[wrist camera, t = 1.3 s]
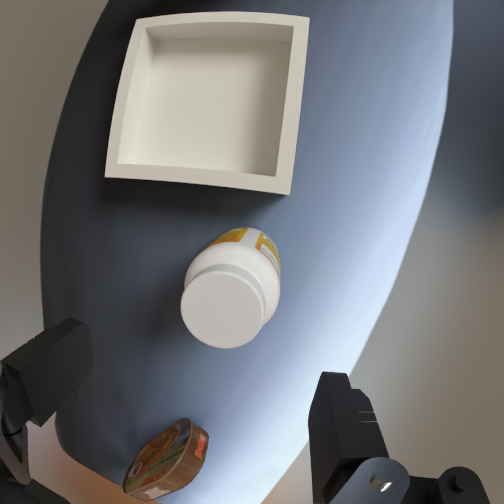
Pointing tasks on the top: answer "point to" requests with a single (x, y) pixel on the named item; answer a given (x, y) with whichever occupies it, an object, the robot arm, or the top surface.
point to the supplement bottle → (232, 288)
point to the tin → (167, 462)
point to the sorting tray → (211, 100)
